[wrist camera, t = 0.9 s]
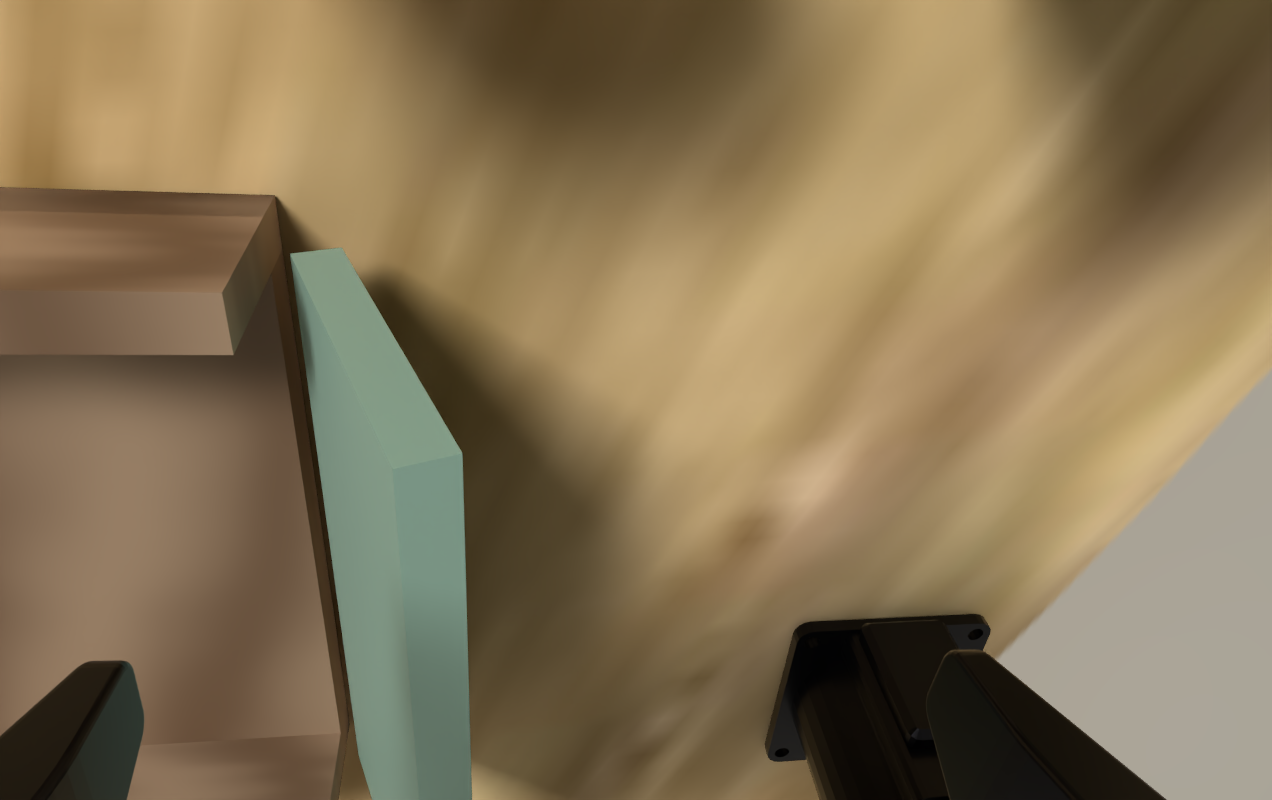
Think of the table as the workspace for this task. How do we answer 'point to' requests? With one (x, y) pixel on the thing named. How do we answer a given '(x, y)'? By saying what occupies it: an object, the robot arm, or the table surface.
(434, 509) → the tailgate
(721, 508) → the table surface
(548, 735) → the table surface
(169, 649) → the truck bed
